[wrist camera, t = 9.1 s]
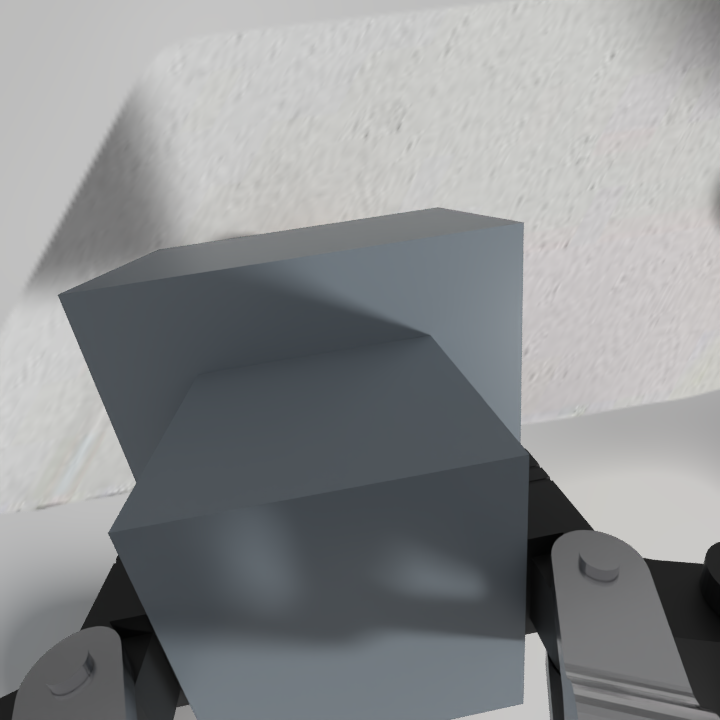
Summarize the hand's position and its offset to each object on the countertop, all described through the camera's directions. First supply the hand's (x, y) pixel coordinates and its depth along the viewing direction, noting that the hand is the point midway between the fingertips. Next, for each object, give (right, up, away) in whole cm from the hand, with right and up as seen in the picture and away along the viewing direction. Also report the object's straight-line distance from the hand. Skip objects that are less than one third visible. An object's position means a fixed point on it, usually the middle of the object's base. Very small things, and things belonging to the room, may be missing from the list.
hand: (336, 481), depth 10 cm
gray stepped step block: (-1, +3, +7) cm, 8 cm away
